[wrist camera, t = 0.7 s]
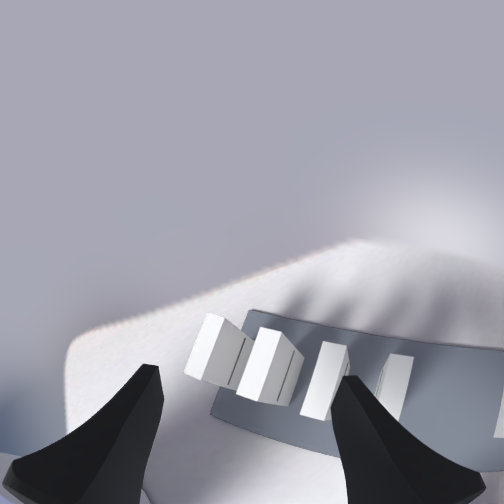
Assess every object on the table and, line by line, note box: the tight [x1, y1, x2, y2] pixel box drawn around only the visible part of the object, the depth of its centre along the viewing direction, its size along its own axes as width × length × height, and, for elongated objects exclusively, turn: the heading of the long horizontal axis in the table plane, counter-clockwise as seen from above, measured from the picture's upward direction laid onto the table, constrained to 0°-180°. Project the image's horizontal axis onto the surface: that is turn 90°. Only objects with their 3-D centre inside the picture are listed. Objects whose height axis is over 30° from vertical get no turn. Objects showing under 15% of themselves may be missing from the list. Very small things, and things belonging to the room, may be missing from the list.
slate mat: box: [210, 310, 504, 472], centre depth 22 cm, size 32×12×1 cm, turn 70°
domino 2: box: [300, 341, 350, 421], centre depth 20 cm, size 2×5×9 cm, turn 160°
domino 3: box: [374, 353, 414, 421], centre depth 18 cm, size 2×5×9 cm, turn 160°
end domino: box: [183, 313, 255, 391], centre depth 24 cm, size 2×5×9 cm, turn 160°
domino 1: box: [236, 327, 304, 407], centre depth 22 cm, size 2×5×9 cm, turn 160°
